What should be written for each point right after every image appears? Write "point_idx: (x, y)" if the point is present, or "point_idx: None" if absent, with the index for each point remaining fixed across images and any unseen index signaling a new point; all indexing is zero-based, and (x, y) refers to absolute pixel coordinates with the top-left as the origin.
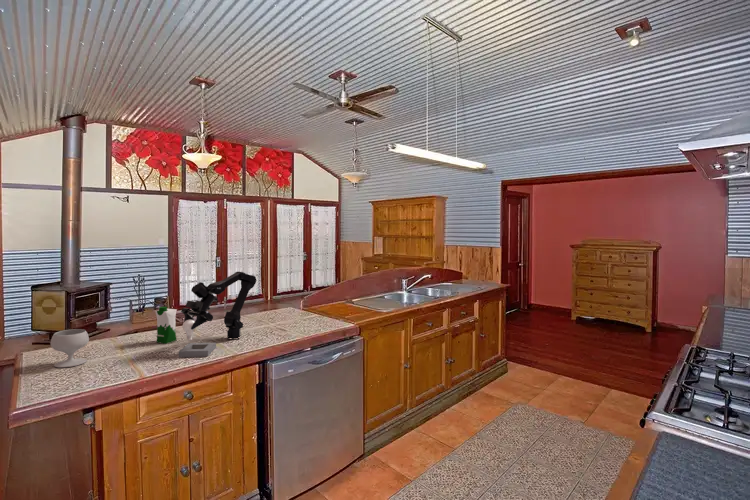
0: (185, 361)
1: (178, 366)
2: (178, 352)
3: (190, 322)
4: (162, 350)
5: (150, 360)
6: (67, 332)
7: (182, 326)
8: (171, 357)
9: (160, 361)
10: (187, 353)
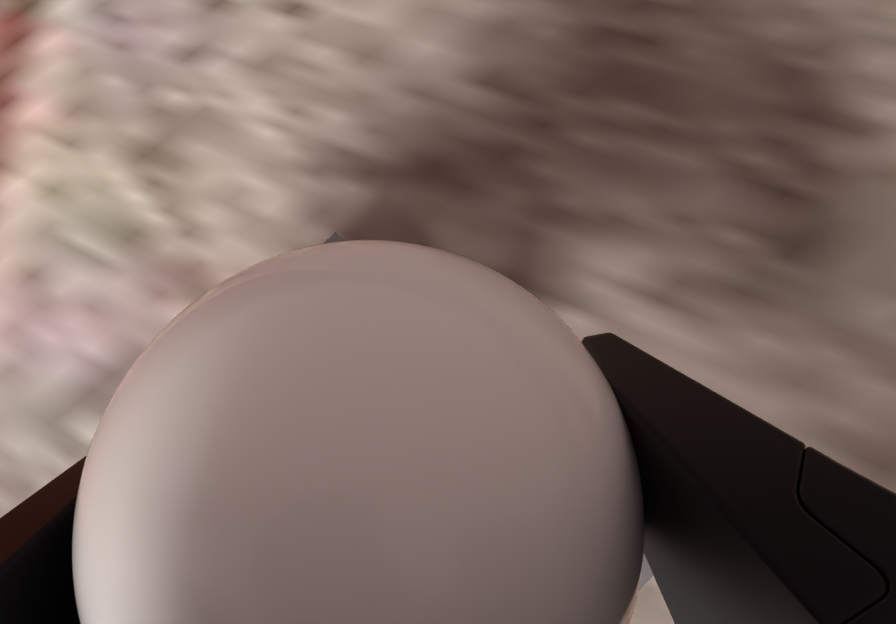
0: (154, 249)
1: (75, 133)
2: (340, 238)
3: (93, 438)
4: (855, 250)
5: (513, 11)
6: None
7: (613, 335)
8: (430, 205)
9: (387, 70)
10: None
